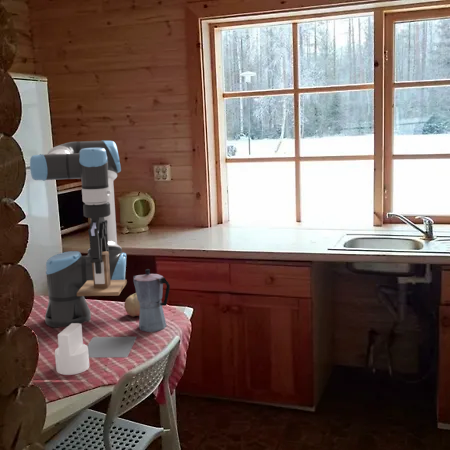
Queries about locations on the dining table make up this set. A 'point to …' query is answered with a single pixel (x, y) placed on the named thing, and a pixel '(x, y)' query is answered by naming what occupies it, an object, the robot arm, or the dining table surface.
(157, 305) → the moka pot
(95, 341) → the rubber mat
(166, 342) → the dining table surface
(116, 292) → the walnut lid
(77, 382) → the dining table surface
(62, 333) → the cylinder with rectangular tab
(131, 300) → the fruit
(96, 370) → the dining table surface
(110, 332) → the dining table surface
